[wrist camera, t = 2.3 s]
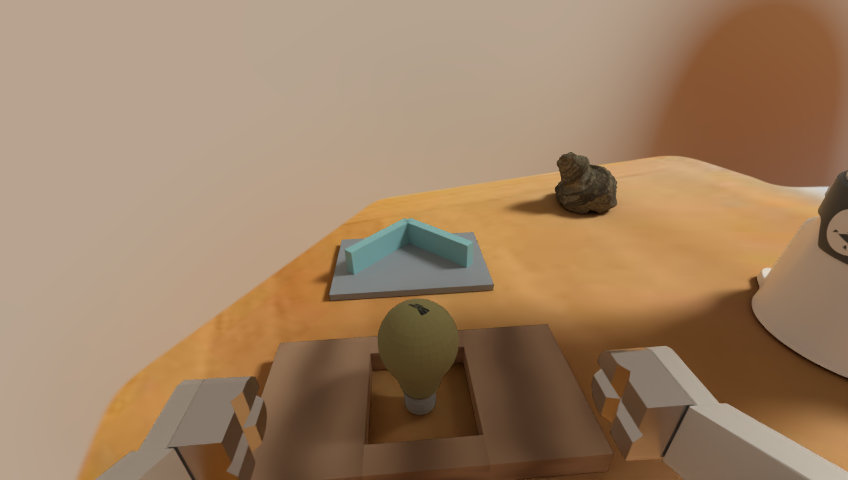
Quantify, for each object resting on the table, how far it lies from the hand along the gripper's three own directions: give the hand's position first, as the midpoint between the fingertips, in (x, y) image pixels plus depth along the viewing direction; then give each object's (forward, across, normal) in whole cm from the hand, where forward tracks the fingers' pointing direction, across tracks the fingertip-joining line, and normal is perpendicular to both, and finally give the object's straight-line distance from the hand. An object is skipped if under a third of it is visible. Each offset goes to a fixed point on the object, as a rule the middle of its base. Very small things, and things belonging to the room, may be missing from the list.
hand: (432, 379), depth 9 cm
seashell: (+47, -30, +19) cm, 59 cm away
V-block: (+33, 0, +19) cm, 38 cm away
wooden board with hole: (+13, 0, +19) cm, 23 cm away
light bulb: (+13, 0, +19) cm, 23 cm away
